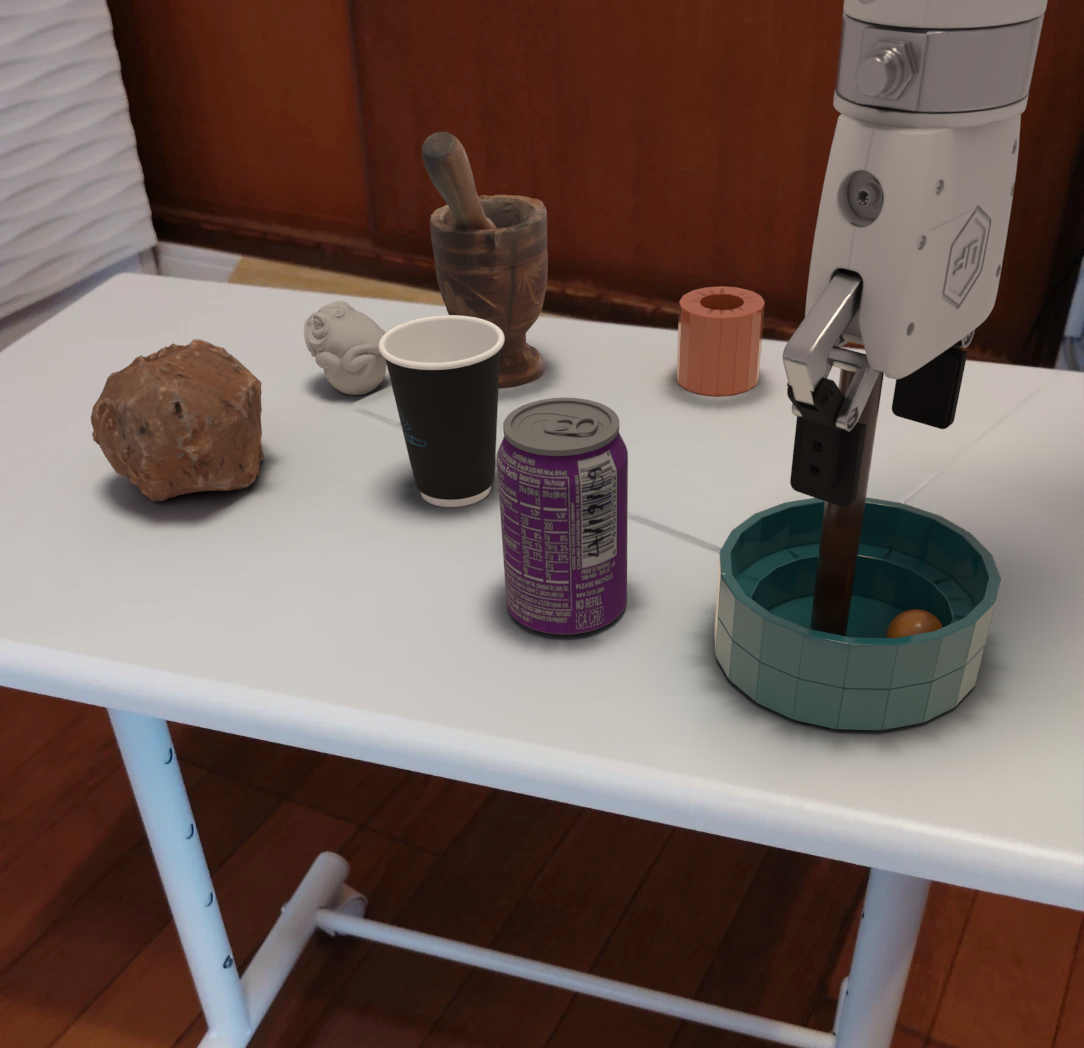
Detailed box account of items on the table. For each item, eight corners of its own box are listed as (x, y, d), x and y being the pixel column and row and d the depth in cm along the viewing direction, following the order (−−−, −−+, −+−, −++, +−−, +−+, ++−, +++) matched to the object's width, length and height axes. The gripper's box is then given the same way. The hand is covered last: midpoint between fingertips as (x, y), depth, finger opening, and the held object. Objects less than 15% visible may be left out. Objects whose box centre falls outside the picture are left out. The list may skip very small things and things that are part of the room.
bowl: (800, 559, 74) (810, 472, 70) (1021, 642, 66) (1046, 550, 62) (663, 669, 66) (666, 577, 62) (896, 778, 58) (916, 682, 54)
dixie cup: (375, 506, 81) (352, 350, 73) (441, 457, 86) (425, 306, 79) (473, 534, 77) (459, 373, 70) (535, 481, 82) (528, 326, 75)
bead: (915, 591, 64) (963, 618, 63) (897, 634, 66) (943, 662, 65) (885, 611, 62) (933, 639, 61) (868, 655, 64) (914, 684, 63)
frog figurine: (339, 370, 98) (326, 286, 94) (412, 382, 96) (402, 296, 91) (298, 401, 94) (282, 314, 89) (374, 414, 92) (361, 326, 87)
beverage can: (633, 580, 72) (635, 396, 65) (618, 649, 67) (619, 457, 59) (519, 573, 74) (508, 391, 66) (496, 640, 68) (481, 450, 60)
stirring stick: (817, 626, 67) (851, 353, 57) (850, 637, 66) (891, 361, 56) (802, 645, 66) (834, 368, 56) (836, 655, 65) (875, 376, 55)
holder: (706, 367, 96) (711, 280, 91) (772, 386, 92) (780, 297, 88) (660, 394, 92) (663, 305, 88) (727, 415, 89) (733, 324, 84)
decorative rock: (234, 536, 78) (200, 394, 72) (80, 524, 80) (33, 385, 74) (304, 444, 88) (279, 311, 82) (164, 436, 90) (130, 306, 84)
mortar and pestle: (549, 421, 89) (537, 135, 77) (435, 423, 90) (405, 139, 77) (554, 358, 98) (545, 92, 85) (451, 360, 99) (426, 96, 86)
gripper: (916, 127, 40) (852, 558, 51) (1113, 34, 50) (1023, 413, 61) (731, 99, 44) (708, 505, 55) (946, 18, 54) (891, 377, 65)
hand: (873, 456), depth 58 cm, fingers open, 9 cm apart
